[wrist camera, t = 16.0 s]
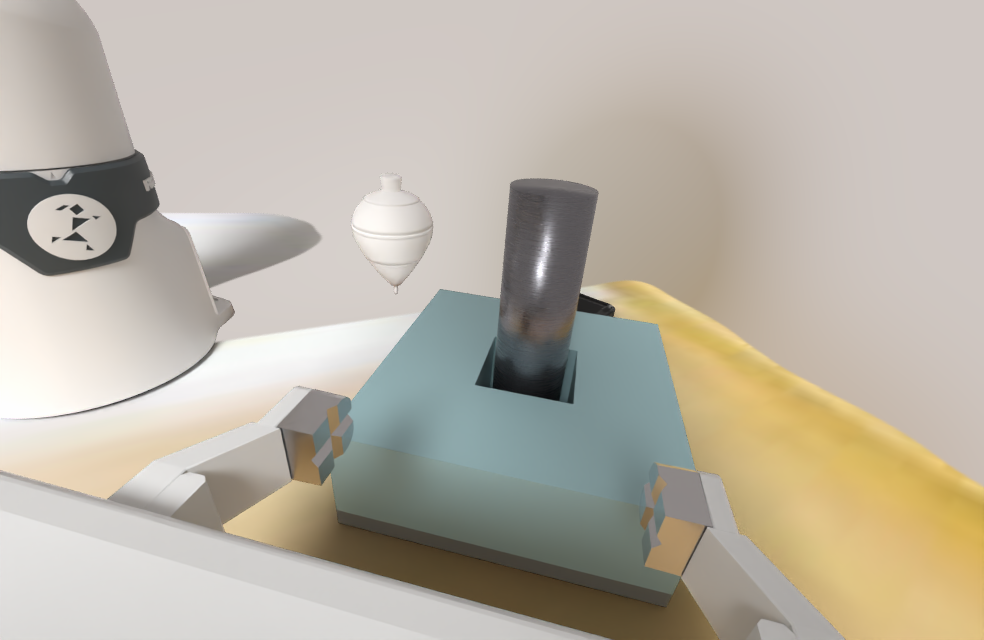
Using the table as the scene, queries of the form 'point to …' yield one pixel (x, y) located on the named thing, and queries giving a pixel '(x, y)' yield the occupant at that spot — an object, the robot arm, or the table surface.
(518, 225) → the pin
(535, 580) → the table surface
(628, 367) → the hole block
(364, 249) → the spinning top
